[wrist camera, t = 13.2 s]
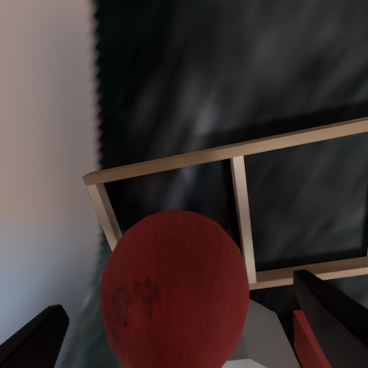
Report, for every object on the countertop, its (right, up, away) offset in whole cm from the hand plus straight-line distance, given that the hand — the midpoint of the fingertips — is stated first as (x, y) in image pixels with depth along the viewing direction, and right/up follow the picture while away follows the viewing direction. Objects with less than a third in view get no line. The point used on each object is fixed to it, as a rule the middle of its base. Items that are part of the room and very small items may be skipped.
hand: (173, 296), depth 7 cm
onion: (0, +2, +5) cm, 5 cm away
